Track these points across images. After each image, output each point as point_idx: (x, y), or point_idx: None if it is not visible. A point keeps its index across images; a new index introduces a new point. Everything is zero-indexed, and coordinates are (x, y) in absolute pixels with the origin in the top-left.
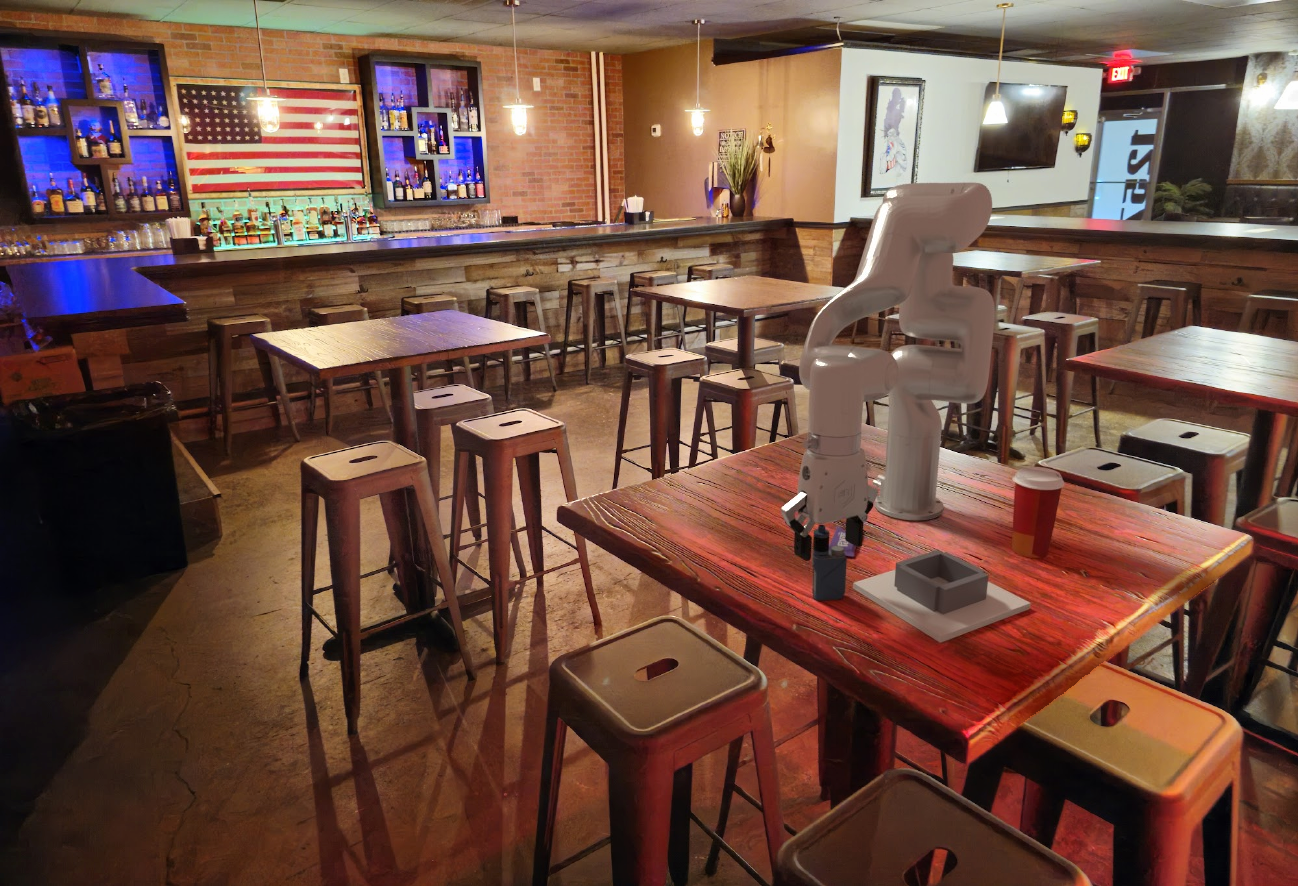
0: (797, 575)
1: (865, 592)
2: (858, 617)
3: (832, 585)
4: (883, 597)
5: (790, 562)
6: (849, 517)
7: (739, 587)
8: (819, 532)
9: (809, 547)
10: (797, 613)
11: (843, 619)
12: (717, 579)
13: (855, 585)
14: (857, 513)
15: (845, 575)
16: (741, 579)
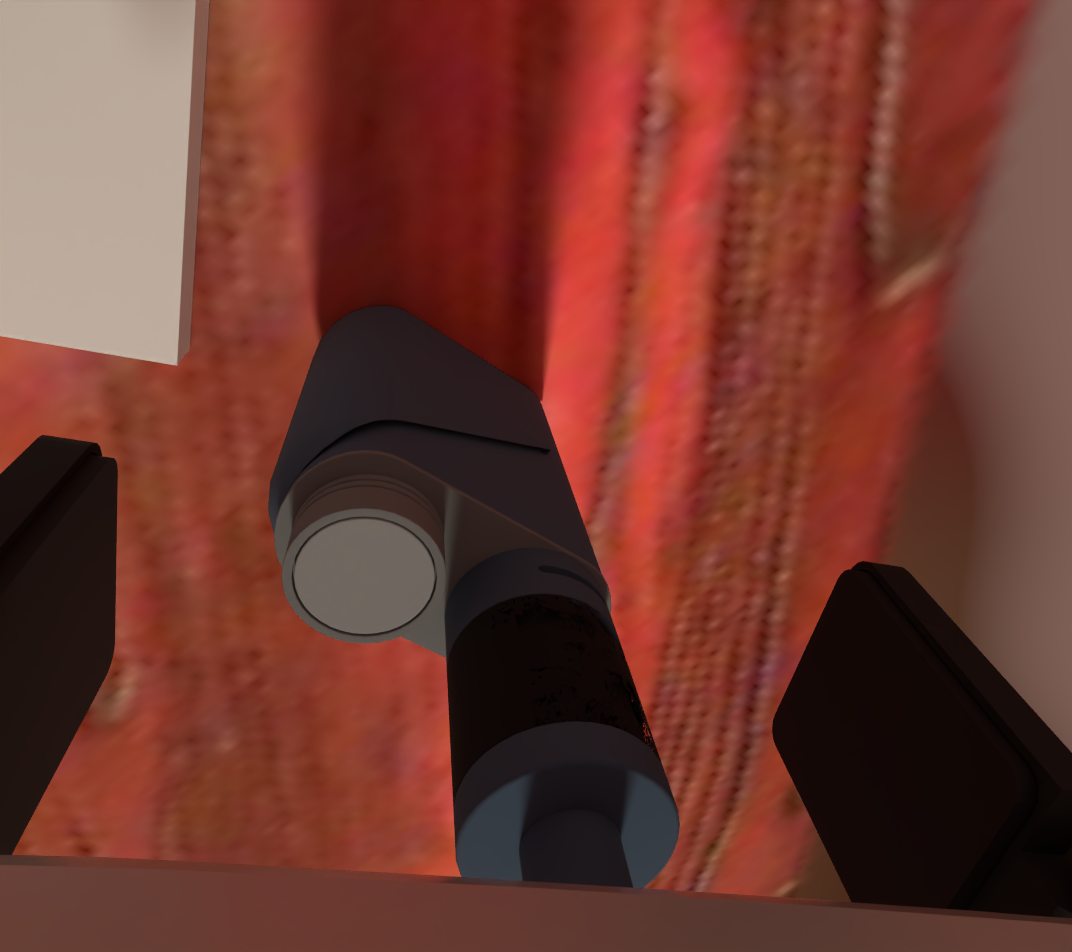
0: (369, 678)
1: (190, 212)
2: (508, 27)
3: (466, 378)
4: (144, 11)
5: (278, 796)
6: (338, 871)
7: (722, 752)
8: (619, 842)
9: (973, 665)
10: (757, 375)
11: (616, 97)
12: (727, 853)
13: (181, 335)
14: (27, 907)
15: (343, 361)
16: None
